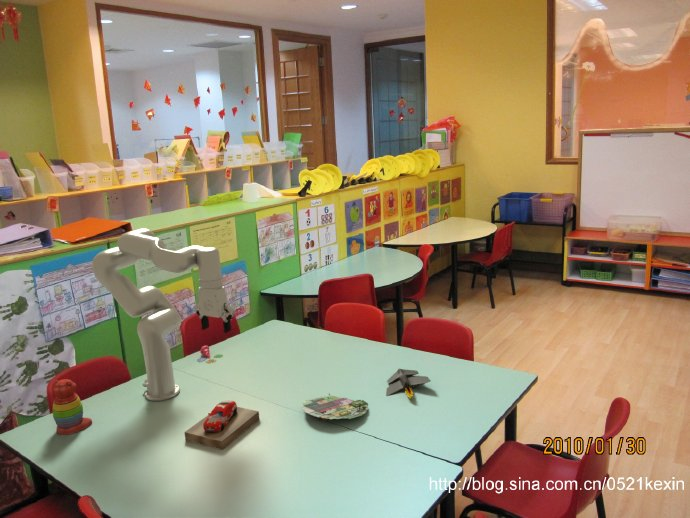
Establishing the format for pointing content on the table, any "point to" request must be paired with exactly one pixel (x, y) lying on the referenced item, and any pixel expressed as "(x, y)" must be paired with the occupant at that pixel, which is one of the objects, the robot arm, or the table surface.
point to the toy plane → (405, 382)
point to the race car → (220, 416)
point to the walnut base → (229, 433)
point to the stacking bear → (68, 408)
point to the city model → (334, 407)
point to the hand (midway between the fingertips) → (216, 330)
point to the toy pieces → (207, 355)
